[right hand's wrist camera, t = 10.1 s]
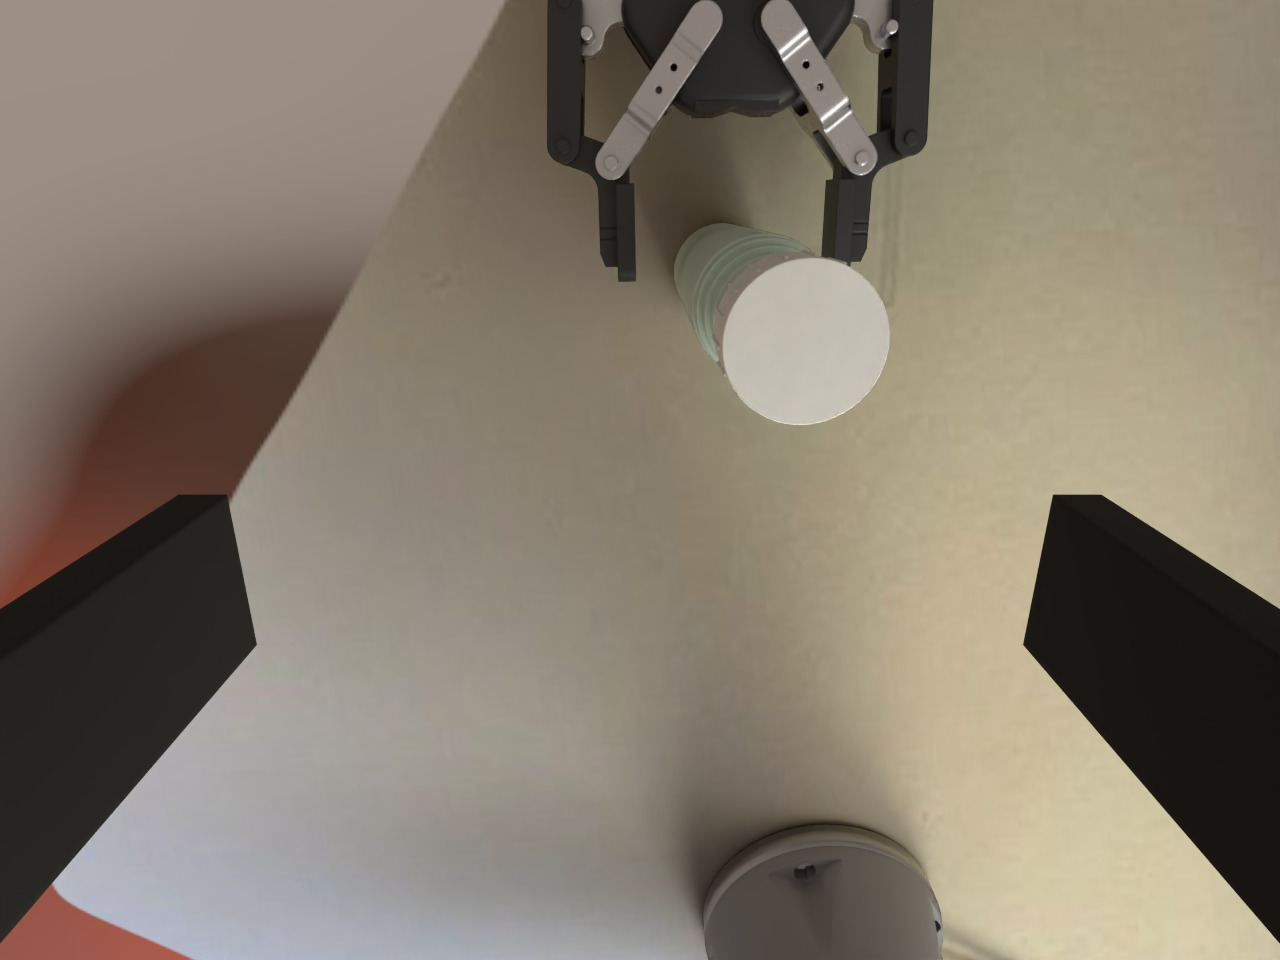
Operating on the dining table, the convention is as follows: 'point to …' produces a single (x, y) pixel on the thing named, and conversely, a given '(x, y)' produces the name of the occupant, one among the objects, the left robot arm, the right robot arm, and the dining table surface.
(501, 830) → the dining table surface
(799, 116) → the left robot arm
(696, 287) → the bottle
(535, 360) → the dining table surface
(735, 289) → the cap
